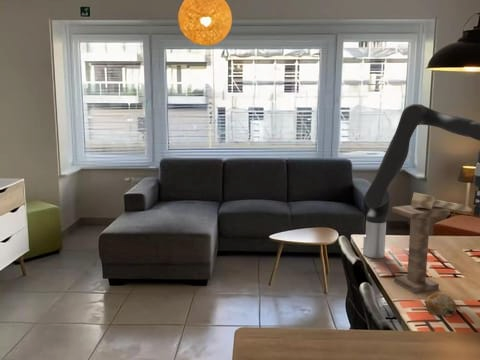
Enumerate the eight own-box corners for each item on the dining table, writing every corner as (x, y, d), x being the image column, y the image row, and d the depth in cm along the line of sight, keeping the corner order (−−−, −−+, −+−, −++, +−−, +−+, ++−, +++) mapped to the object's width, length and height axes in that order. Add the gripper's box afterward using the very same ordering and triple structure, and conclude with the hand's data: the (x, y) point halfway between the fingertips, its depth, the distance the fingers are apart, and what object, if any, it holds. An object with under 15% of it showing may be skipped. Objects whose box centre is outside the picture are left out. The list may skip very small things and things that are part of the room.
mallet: (419, 207, 183) (422, 194, 182) (410, 204, 187) (413, 192, 187) (466, 215, 191) (469, 203, 190) (457, 212, 196) (460, 200, 195)
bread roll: (436, 326, 165) (446, 311, 161) (416, 304, 172) (425, 289, 168) (455, 320, 169) (465, 305, 165) (435, 299, 177) (444, 284, 172)
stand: (407, 293, 183) (411, 213, 178) (388, 282, 194) (392, 206, 189) (444, 287, 189) (450, 210, 183) (424, 277, 200) (429, 203, 195)
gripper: (478, 172, 197) (472, 209, 200) (470, 175, 186) (464, 214, 189) (498, 174, 193) (492, 213, 195) (491, 177, 182) (485, 218, 184)
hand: (478, 214), depth 192 cm, fingers open, 8 cm apart
